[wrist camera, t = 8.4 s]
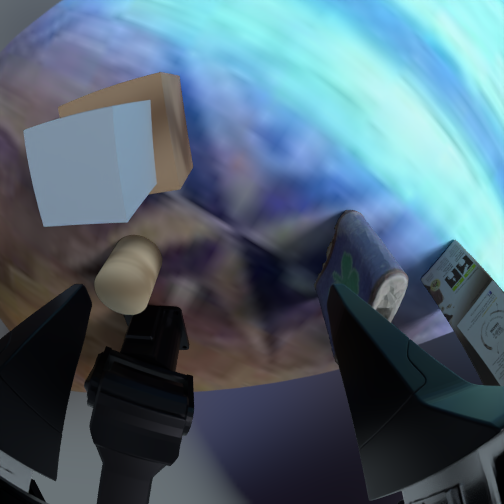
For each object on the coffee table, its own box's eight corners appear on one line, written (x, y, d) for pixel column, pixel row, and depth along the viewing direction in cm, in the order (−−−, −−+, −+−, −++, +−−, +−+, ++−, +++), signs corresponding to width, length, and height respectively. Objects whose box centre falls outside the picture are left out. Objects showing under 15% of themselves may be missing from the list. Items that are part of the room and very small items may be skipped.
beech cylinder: (165, 277, 25) (153, 316, 21) (121, 277, 25) (104, 313, 21) (157, 234, 23) (140, 269, 19) (110, 235, 23) (87, 269, 18)
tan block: (193, 166, 20) (180, 189, 16) (111, 181, 20) (83, 207, 16) (179, 75, 16) (160, 72, 12) (94, 99, 16) (58, 107, 12)
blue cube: (150, 99, 13) (112, 106, 9) (156, 183, 15) (127, 222, 11) (75, 113, 13) (23, 130, 8) (85, 189, 15) (43, 226, 11)
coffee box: (417, 280, 27) (488, 402, 13) (454, 237, 24) (545, 347, 10) (450, 304, 29) (506, 401, 16) (481, 268, 27) (549, 359, 13)
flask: (340, 205, 22) (400, 292, 13) (370, 212, 22) (436, 295, 13) (309, 292, 27) (334, 388, 18) (336, 294, 27) (368, 385, 18)
